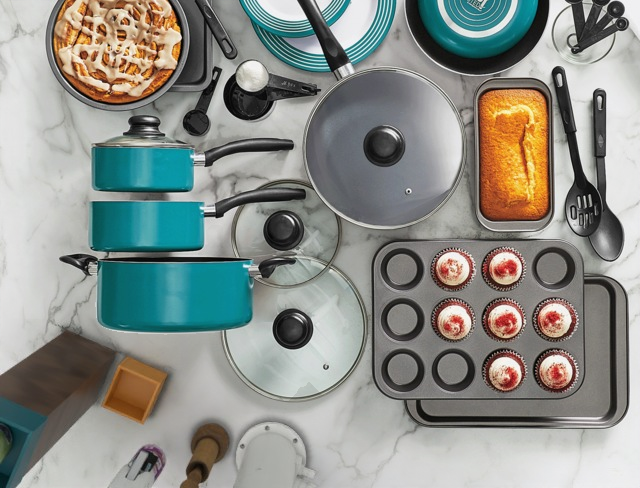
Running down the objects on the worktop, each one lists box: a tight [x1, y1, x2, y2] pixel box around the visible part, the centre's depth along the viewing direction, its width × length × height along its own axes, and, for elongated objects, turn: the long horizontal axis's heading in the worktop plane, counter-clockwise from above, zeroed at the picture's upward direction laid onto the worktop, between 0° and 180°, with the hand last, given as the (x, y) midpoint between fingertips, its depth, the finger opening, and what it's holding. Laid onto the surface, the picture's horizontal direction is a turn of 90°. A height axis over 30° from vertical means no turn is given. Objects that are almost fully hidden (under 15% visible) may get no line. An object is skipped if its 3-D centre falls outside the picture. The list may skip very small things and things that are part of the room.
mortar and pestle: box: [179, 422, 230, 488], centre depth 113 cm, size 7×6×18 cm
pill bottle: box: [127, 443, 167, 488], centre depth 112 cm, size 5×5×10 cm
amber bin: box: [100, 356, 169, 425], centre depth 120 cm, size 8×8×4 cm
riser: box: [0, 329, 118, 478], centre depth 108 cm, size 10×10×28 cm
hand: (142, 471), depth 111 cm, fingers closed on pill bottle, 5 cm apart
